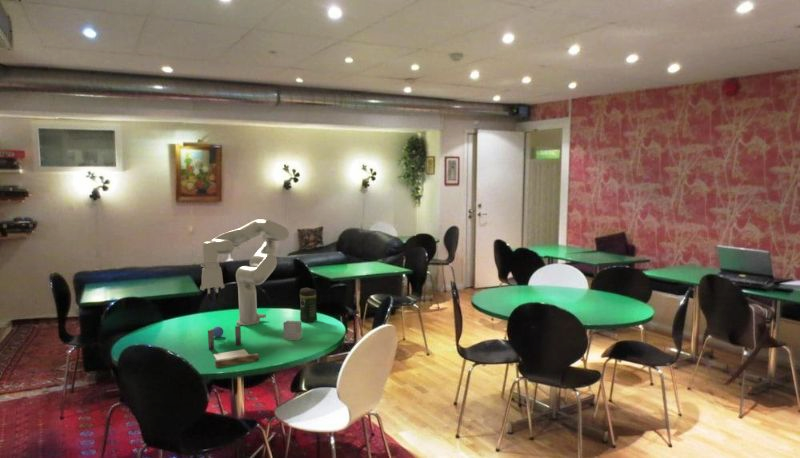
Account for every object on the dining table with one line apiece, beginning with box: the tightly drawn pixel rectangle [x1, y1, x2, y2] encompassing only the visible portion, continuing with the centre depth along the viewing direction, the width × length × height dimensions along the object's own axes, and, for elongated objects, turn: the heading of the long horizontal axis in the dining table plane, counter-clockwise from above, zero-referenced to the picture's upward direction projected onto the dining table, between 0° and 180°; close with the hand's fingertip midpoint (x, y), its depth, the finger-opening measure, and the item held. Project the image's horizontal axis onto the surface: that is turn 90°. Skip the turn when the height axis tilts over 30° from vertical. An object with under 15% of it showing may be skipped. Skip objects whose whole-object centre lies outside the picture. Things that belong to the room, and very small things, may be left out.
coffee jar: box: [299, 287, 318, 324], centre depth 304 cm, size 10×8×19 cm
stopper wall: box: [214, 352, 260, 368], centre depth 238 cm, size 18×2×2 cm, turn 119°
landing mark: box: [213, 348, 250, 360], centre depth 246 cm, size 14×14×1 cm
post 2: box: [234, 325, 242, 347], centre depth 263 cm, size 2×2×9 cm
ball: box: [212, 326, 224, 338], centre depth 276 cm, size 6×6×6 cm
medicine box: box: [282, 319, 303, 341], centre depth 272 cm, size 8×4×9 cm, turn 71°
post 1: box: [207, 329, 215, 351], centre depth 257 cm, size 2×2×9 cm
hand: (213, 300), depth 283 cm, fingers closed
